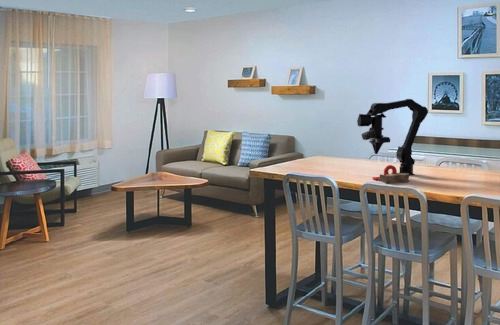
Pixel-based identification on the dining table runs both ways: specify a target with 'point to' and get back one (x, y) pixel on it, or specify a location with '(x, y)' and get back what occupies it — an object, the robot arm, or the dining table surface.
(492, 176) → the dining table surface
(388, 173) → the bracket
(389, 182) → the cradle
